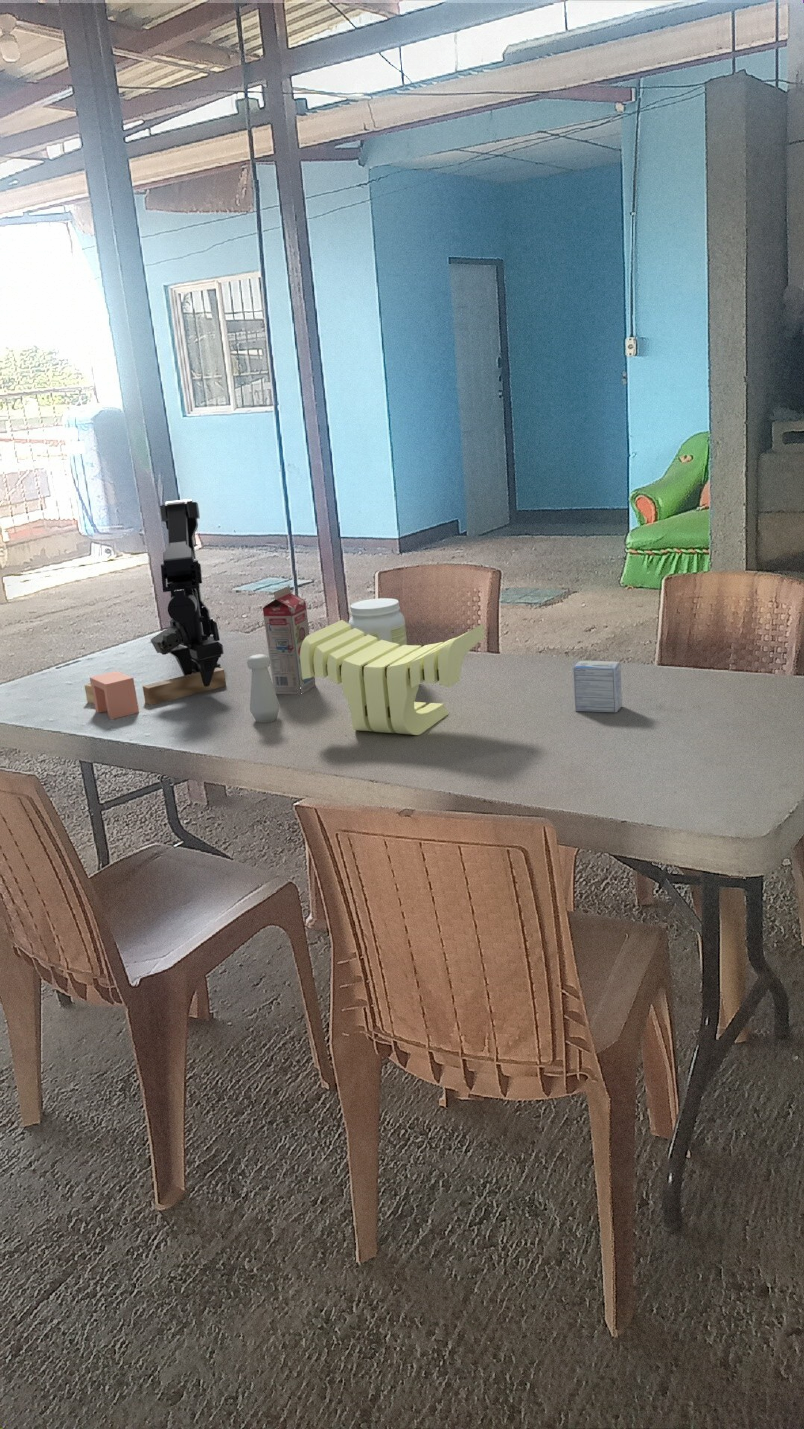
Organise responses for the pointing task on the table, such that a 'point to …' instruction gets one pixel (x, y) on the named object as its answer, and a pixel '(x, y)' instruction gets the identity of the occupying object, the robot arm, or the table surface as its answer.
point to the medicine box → (597, 686)
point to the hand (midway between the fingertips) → (197, 682)
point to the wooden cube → (89, 693)
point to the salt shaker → (262, 690)
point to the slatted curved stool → (385, 675)
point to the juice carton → (286, 641)
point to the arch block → (114, 694)
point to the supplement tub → (379, 619)
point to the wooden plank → (181, 687)
